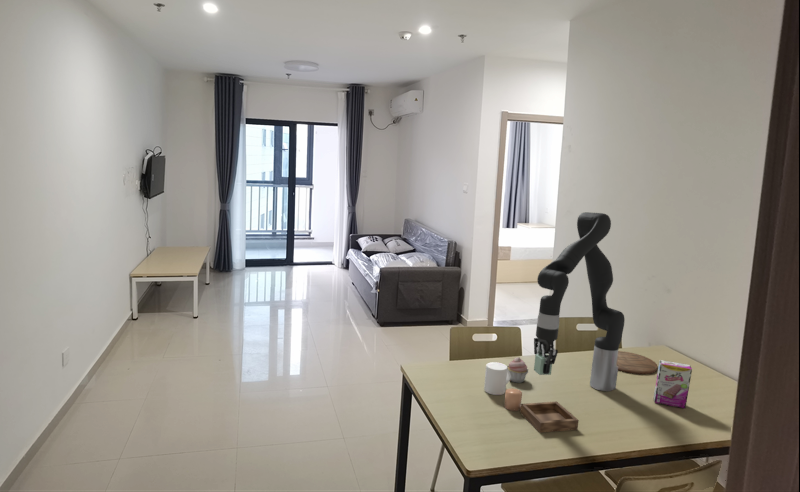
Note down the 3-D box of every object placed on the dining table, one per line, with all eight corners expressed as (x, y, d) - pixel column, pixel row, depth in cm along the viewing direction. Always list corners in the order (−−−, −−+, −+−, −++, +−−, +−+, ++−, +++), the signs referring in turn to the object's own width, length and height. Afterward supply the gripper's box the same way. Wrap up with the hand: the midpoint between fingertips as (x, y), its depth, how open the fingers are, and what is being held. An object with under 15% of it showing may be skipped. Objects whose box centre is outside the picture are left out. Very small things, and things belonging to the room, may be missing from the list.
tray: (555, 410, 201) (556, 401, 201) (577, 429, 188) (578, 420, 187) (520, 412, 198) (521, 403, 197) (539, 432, 184) (540, 423, 183)
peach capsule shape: (516, 402, 206) (518, 388, 205) (523, 410, 200) (524, 395, 199) (501, 403, 204) (503, 388, 203) (508, 411, 199) (509, 395, 198)
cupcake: (523, 386, 221) (525, 363, 219) (501, 380, 226) (503, 357, 224) (530, 379, 229) (533, 356, 227) (509, 373, 234) (511, 351, 232)
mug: (481, 364, 215) (502, 358, 222) (479, 389, 216) (500, 382, 224) (497, 371, 208) (518, 365, 215) (495, 397, 210) (516, 390, 217)
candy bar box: (654, 403, 212) (660, 363, 209) (653, 398, 217) (658, 359, 214) (686, 409, 209) (692, 368, 206) (684, 404, 213) (690, 364, 210)
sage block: (545, 369, 200) (546, 354, 199) (550, 374, 195) (552, 358, 195) (533, 370, 199) (535, 354, 198) (539, 374, 194) (541, 358, 194)
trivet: (666, 376, 241) (667, 372, 241) (610, 373, 241) (610, 369, 241) (642, 356, 266) (643, 352, 266) (591, 353, 266) (592, 349, 266)
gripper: (567, 331, 188) (561, 378, 191) (547, 319, 202) (542, 363, 205) (547, 331, 187) (542, 379, 189) (529, 319, 200) (524, 363, 203)
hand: (542, 370), depth 197 cm, fingers closed on sage block, 4 cm apart
